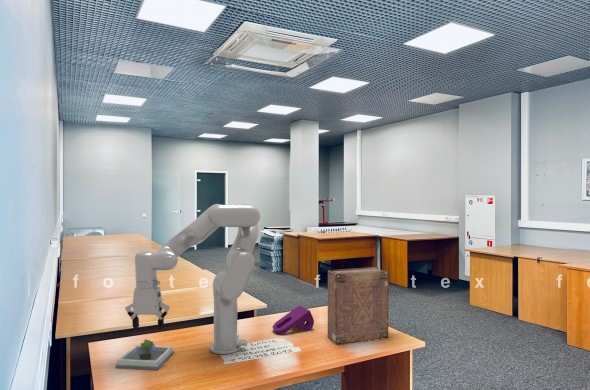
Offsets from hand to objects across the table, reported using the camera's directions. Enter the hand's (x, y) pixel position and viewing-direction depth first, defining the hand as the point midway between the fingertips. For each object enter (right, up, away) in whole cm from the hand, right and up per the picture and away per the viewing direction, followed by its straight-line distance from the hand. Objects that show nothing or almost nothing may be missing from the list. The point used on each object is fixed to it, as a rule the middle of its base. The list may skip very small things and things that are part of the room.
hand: (148, 328), depth 154 cm
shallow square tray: (-1, -12, 0) cm, 12 cm away
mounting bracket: (+54, -12, +34) cm, 65 cm away
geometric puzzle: (-1, -11, 0) cm, 11 cm away
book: (+84, -13, +25) cm, 88 cm away
